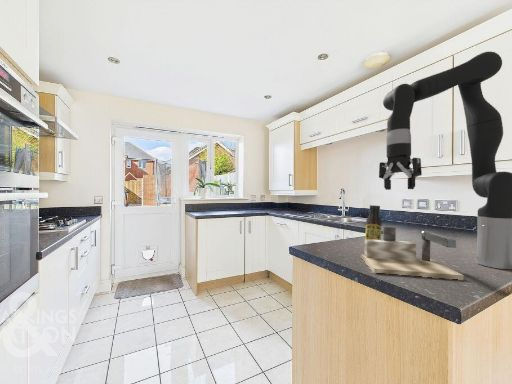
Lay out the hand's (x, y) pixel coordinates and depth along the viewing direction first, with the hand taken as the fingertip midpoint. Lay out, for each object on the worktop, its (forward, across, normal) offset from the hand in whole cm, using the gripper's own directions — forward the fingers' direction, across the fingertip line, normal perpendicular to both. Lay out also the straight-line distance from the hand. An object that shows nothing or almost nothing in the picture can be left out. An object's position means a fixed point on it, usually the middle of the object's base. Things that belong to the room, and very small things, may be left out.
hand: (398, 189), depth 84 cm
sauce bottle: (+27, +18, -8) cm, 33 cm away
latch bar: (+17, -9, -5) cm, 20 cm away
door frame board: (+26, -3, +2) cm, 27 cm away
